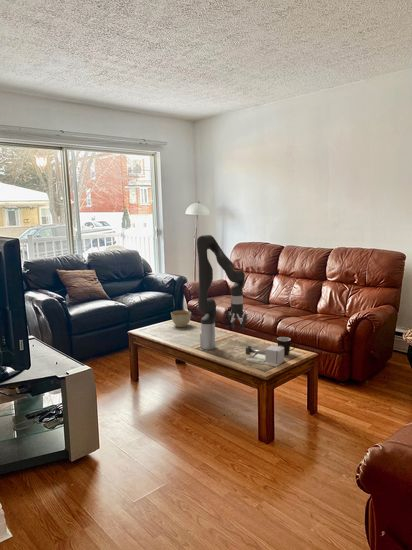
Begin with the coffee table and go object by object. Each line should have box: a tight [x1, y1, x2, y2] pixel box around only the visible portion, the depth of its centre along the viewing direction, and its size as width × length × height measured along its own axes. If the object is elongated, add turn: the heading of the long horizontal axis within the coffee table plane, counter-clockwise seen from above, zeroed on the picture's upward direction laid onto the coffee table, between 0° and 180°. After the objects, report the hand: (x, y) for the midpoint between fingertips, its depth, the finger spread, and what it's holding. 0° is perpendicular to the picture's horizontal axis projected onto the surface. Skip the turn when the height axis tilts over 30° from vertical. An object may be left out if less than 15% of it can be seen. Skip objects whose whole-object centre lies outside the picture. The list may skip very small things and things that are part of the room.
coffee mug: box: [276, 336, 297, 357], centre depth 257 cm, size 12×9×10 cm
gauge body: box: [245, 344, 285, 367], centre depth 248 cm, size 20×12×9 cm, turn 58°
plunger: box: [245, 345, 265, 357], centre depth 250 cm, size 14×9×6 cm, turn 58°
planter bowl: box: [170, 310, 192, 328], centre depth 328 cm, size 16×16×11 cm
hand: (237, 328), depth 257 cm, fingers open, 5 cm apart
